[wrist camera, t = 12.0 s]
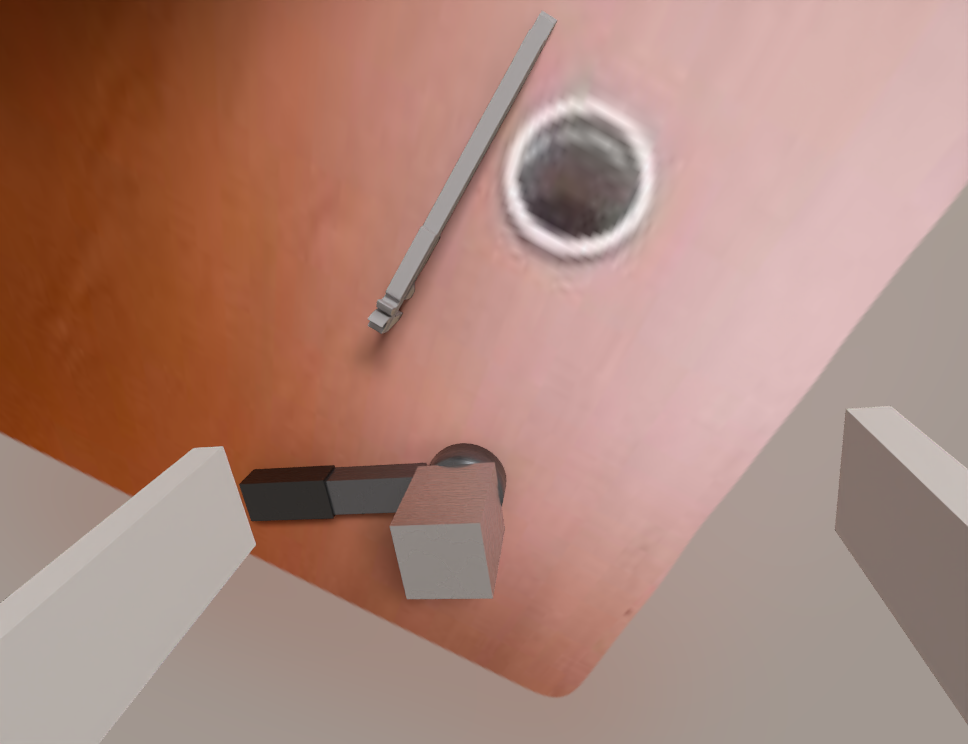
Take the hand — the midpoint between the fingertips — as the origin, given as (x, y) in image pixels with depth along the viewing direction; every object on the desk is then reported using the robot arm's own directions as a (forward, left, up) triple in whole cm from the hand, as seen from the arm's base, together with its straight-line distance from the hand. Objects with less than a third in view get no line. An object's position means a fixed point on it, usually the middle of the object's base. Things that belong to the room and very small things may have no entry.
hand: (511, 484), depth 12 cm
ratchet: (+16, -15, -27) cm, 35 cm away
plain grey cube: (+16, -8, -24) cm, 30 cm away
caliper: (-5, -5, -27) cm, 28 cm away
